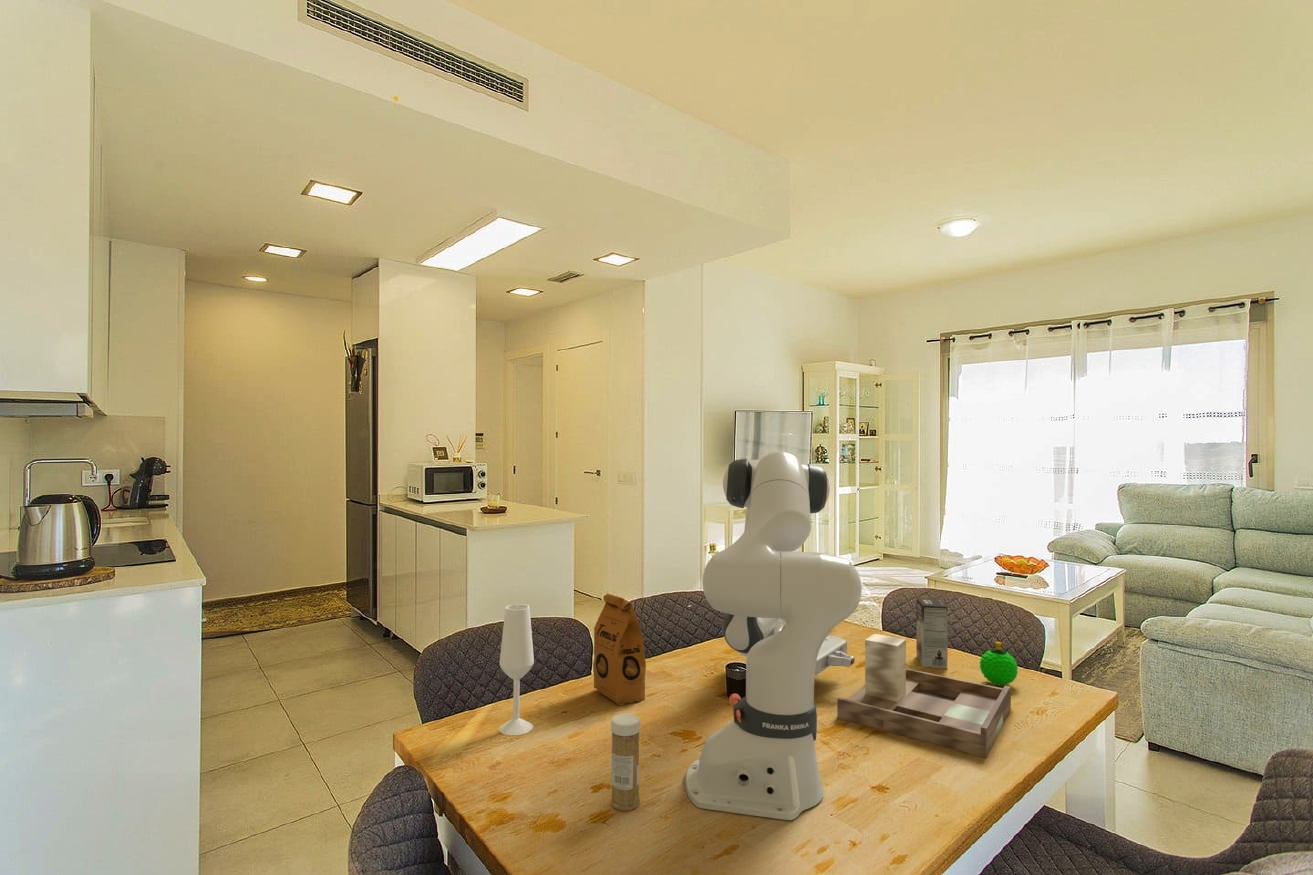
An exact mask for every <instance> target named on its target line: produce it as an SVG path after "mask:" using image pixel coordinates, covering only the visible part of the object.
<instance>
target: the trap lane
mask: <svg viewBox="0 0 1313 875" xmlns="http://www.w3.org/2000/svg"><path fill="white" fill-rule="evenodd" d="M1003 686H1004V687H1003V688H1002V687H997V686H994V685H993V686H992V685H988V684H984V683H983V684H982V683H977V682H974V681H969V680H963V679H960V678H959V679H958V678H956V677H954V678H953V677H951V676H945V675H940V674H935V673H931V672H926V671H920V670H915V669H912V668H907V667H906V694H905V695H904V696H903V697H902V698H901V699H900V700H899V701H898V702H894V701H890V700H886V699H882V698H878V697H874V696H870V695H865V684H864V685H863V686H862V687H861V688H859V689H858V690H857V691H855V693H853V694H852V695H851V696H850V697H849V698H843V697H840V696H839V697H837V700H836V701H837V713H836V714H837V716H836V717H837V718H838V719H841V720H845V721H849V722H852V723H855V724H859V725H862V726H867V727H871V728H874V729H878V730H882V731H885V732H888V733H893V734H897V735H899V736H904V737H907V738H910V739H915V740H919V741H923V742H925V743H926V742H927V743H929V744H933V745H937V746H940V747H944V748H949V749H952V750H955V751H960V752H964V753H967V754H970V755H974V756H977V757H982V758H987V757H988V754H989V753H990V751H991V748H992V746H993V745H994V743H995V742H996V741H995V740H996V738H997V737H998V734H999V733H1000V730H1001V729H1002V727H1003V725H1004V723H1005V721H1006V719H1007V717H1008V715H1009V713H1010V711H1011V708H1012V706H1011V705H1012V704H1011V703H1012V702H1011V701H1012V700H1011V699H1012V698H1011V696H1012V694H1011V693H1012V692H1011V691H1012V690H1011V686H1008V685H1003Z"/></svg>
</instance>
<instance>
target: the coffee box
mask: <svg viewBox="0 0 1313 875" xmlns="http://www.w3.org/2000/svg"><path fill="white" fill-rule="evenodd" d="M915 617H916V621H915V622H916V625H915V626H916V632H915V634H916V649H915V650H916V658H917V659H918V661H919V663H920V662H921V663H920V665H921V664H922V665H921V667H923V668H929V667H932V668H931V669H943V668H946V669H948V656H949V655H948V654H949V653H948V637H949V636H948V635H949V634H948V633H949V632H948V631H949V607H948V605H946V602H944V601H943V600H942V599H941V598H934V597H933V598H932V597H916V616H915ZM946 669H945V670H946Z"/></svg>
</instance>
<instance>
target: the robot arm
mask: <svg viewBox="0 0 1313 875" xmlns="http://www.w3.org/2000/svg"><path fill="white" fill-rule="evenodd" d="M722 490H723V493H724V495H725V497H726V502H728V503H729V504H730V506H733V507H735V508H736V507H737V508H740V509H744V508H746V510H745V511H746V513H745V520H744V522H745V523H744V530H743V533H742V534H741V535H740V537H739V538H738V539H736V541H735V542H733V543H732V544H731V545H729V546H728V547H727V548H725V549H723V550H721V551H718V552H715V554H714V555H713V556H711V558H710V559H709V560H708V562H707V564H706V566H705V568H704V569H703V573H702V582H701V583H702V584H701V585H702V591H703V594H704V596H705V599H706V600H707V602H708V604H709V605H710V607H711V608H712V609H713V610H715V611H719V612H722V613H725V614H727V616H726V617H725V618H724V619H723V621H722V623H721V631H722V635H723V638H724V640H725V642H726V643H727V645H728V646H729V647H730V648H731V649H732V650H733V651H736V652H737V653H739V654H740V655H742V656H744V657H746V659H745V663H746V664H745V667H746V668H745V696H744V697H742V698H741V696H740V695H739V694H738V693H732V694H730V696H729V699H728V700H729V701H728V702H729V705H730V707H731V708H732V709H733V712H732V713H733V720H731V721H729V722H727V724H725V725H724V726H722V727H721V728H719V729H718V730H716V731H715V732H713V733H711V734H710V735H709V736H708V737H707V738H706V739H705V741H704V743H703V746H702V748H701V753H700V756H699V759H697V760H695V761H693V762H692V763H691V764H690V765H689V766H688V769H687V772H686V777H685V790H686V793H687V797H688V798H689V799H690V801H691V802H692V803H693V804H694V805H695V807H697V808H699V809H705V810H711V811H719V812H725V813H726V812H727V813H732V814H741V815H746V816H747V815H748V816H754V817H755V816H756V817H761V818H762V817H763V818H770V819H776V820H777V819H778V820H783V821H784V820H785V821H792V820H795V819H797V818H798V817H799V815H800V814H801V813H802V812H804V811H805V810H808V809H811V808H812V807H815V806H816V805H818V804H819V803H820V802H821V801H822V799H823V797H824V795H825V794H824V793H825V792H824V788H823V784H822V779H821V776H820V771H819V767H818V766H819V765H818V759H817V751H816V742H815V741H816V740H817V733H818V711H817V705H816V704H815V701H814V699H815V692H814V691H815V676H818V675H819V674H821V673H822V672H824V671H825V670H827V669H828V668H829V667H846V668H850V667H851V666H852V665H854V664H855V663H856V662H855V659H856V658H855V656H853V655H849V654H848V641H846V640H845V639H844V638H842V637H838V636H833V635H830V633H831V632H832V631H833V630H834V628H836V627H837V626H838V625H839V624H841V623H842V622H843V621H844V620H846V619H848V618H849V617H850V616H851V615H852V614H853V613H854V612H855V611H856V610H857V607H858V606H859V604H860V601H861V598H862V589H863V588H862V580H861V577H860V575H859V573H858V570H857V568H856V567H855V566H854V564H852V562H851V561H850V560H849V559H847V558H844V557H841V556H837V555H833V554H827V553H823V552H814V551H813V552H811V551H797V550H798V549H799V548H801V547H802V546H803V545H804V543H805V542H806V541H807V539H808V538H809V536H810V535H811V534H810V533H811V530H812V523H811V522H812V519H811V515H813V514H816V513H817V514H818V513H820V512H821V511H822V510H823V509H825V506H826V503H827V502H828V499H829V497H830V482H829V479H828V476H827V472H826V471H825V470H824V468H822V467H821V466H818V465H815V464H812V463H811V464H810V463H808V464H803V463H801V461H800V460H799V459H798V458H797V457H796V456H795V455H793V454H791V453H789V452H785V451H774V452H770V453H768V454H766V455H764V456H763V457H762V458H760V459H748V458H739V459H735V460H733V461H732V462H731V463H729V464H728V467H727V469H726V470H725V473H724V475H723V479H722ZM783 624H784V625H783Z"/></svg>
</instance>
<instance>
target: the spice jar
mask: <svg viewBox="0 0 1313 875" xmlns="http://www.w3.org/2000/svg"><path fill="white" fill-rule="evenodd" d="M610 724H611V725H610V728H611V729H610V731H611V735H612V736H611V739H612V740H611V741H612V742H611V801H610V803H611V806H612V807H613V808H614V809H615V810H619V811H622V812H623V811H624V812H625V811H627V812H628V811H632V810H634V809H636V808H637V807H639V804H640V788H639V787H640V731H641V719H640V717H639V716H638V715H636V714H634V713H630V712H629V713H627V712H625V713H624V712H623V713H619V714H615V715H614V716H613V717H612V718H611V722H610Z"/></svg>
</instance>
